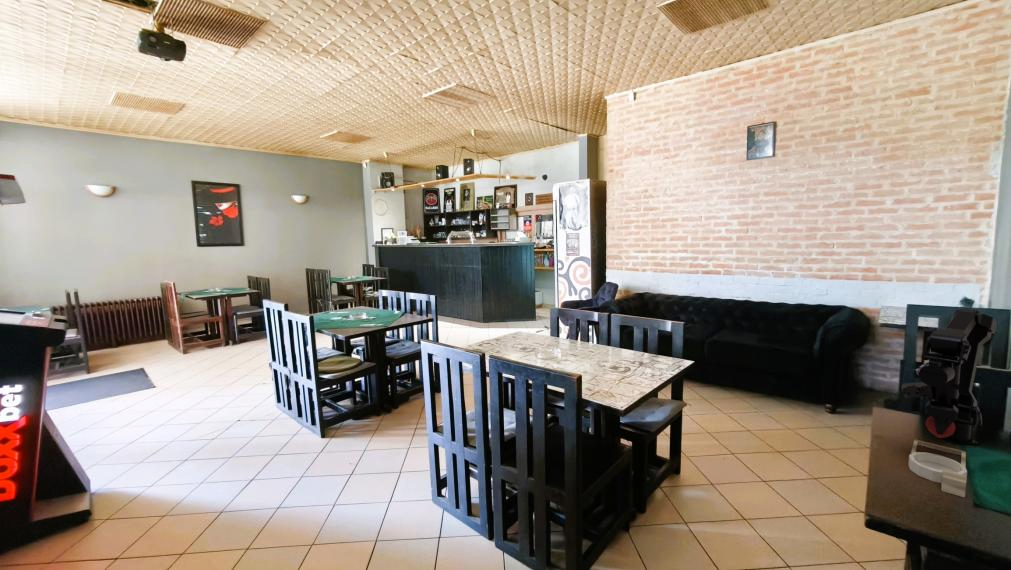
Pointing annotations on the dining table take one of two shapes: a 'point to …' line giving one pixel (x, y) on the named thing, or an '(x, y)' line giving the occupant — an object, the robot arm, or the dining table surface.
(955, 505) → the dining table surface
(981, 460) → the dining table surface
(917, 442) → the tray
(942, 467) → the bowl
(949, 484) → the maple block
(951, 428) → the onion
